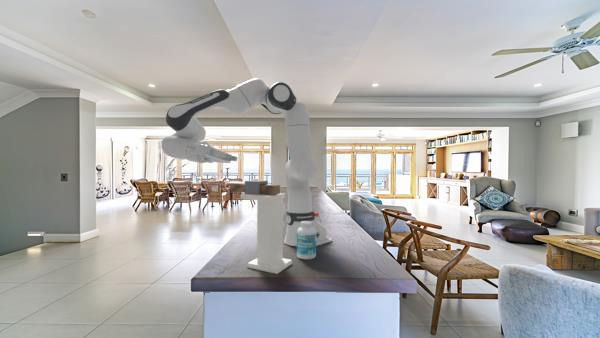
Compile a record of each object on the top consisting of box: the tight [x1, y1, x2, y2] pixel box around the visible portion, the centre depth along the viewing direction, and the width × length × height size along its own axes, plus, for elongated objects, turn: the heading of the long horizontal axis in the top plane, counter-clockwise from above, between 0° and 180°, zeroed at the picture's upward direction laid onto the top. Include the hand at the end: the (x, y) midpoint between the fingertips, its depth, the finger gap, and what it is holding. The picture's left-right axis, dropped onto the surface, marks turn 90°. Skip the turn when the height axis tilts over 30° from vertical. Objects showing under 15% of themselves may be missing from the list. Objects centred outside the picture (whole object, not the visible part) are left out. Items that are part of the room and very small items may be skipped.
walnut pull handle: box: [229, 182, 281, 195], centre depth 98 cm, size 20×3×3 cm, turn 63°
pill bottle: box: [296, 221, 317, 260], centre depth 105 cm, size 8×7×14 cm
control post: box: [240, 179, 293, 275], centre depth 96 cm, size 15×10×30 cm, turn 63°
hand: (231, 156), depth 104 cm, fingers open, 8 cm apart
